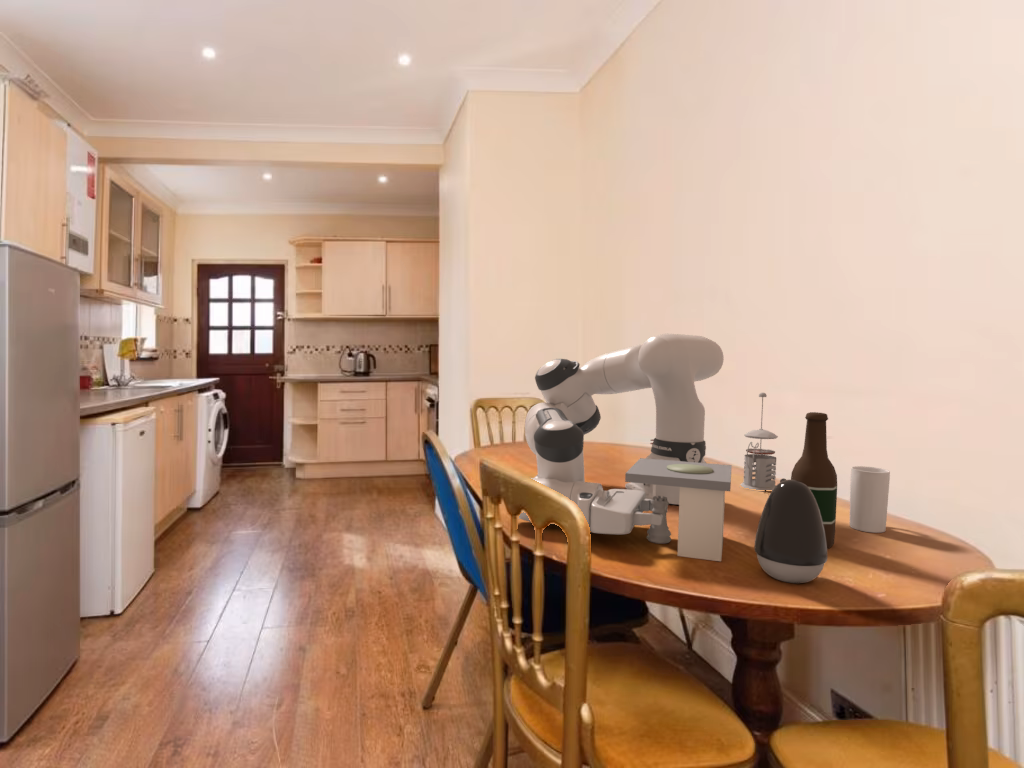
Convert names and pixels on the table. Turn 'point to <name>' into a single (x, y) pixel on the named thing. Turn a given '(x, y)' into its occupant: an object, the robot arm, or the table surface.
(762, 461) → the french press
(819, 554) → the dark grey egg speaker
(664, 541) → the rook chess piece
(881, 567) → the table surface
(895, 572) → the table surface
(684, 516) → the grey pedestal stand
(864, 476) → the mug
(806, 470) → the beer bottle
